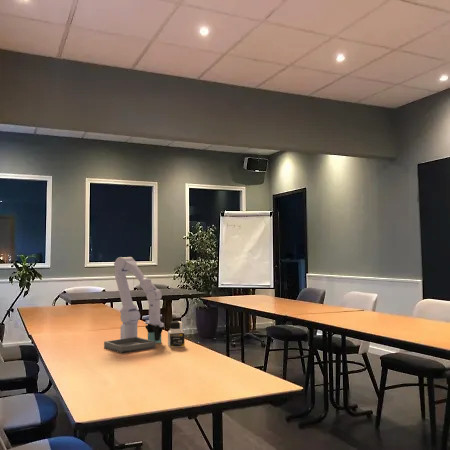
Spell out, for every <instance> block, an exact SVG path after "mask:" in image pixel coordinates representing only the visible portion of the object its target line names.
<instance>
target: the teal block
mask: <svg viewBox="0 0 450 450" xmlns="http://www.w3.org/2000/svg"><path fill="white" fill-rule="evenodd" d="M147 340H151V341H155V342H156V344H160V343H162V335H161V336H160V340H158V341H156V340H155V333H154V332H149V333H148V332H147Z"/></svg>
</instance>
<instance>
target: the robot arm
mask: <svg viewBox="0 0 450 450" xmlns="http://www.w3.org/2000/svg"><path fill="white" fill-rule="evenodd" d="M113 265H114V277H115V282H116V285H117V291H118V294H119V298H120V301H121V305H122V308H121V309H120V321H121V323H122V324H121V325H120V335H119V336H120V338H119V339H125V338H132V337H138V323H139V320H140V319H141V313H140V310H138V307H137V306H136V305H135V304H134V302H133V298H132V294H131V291H130V287H129V283H128V279H127V275H128V273H129V272H131V273H132V274H133V276H134V277H135V278H136V279H137V280H138V282H139V286H140V288H141V289H142V290H143V292H144V293H145V294H146V295H145V296H146V299H147V301H148V319H146V320H145V319H144V320H145V321H144V323H145V326H144V327H145V329H146V331H147V334H148V333H149V332H154V333H155V340H156V341H158V340H160V336H161V337H162V333H163V330H164V328H165V323H164V322H162V321H161V299H162V297H163V292H162V289H160V288H157V287H156V286H155V285H154V284H153V282H152V279H150V278H148V277H145V276H144V274H143V272H142V271H141V269H140V267H139V266H138V265H137V261H136V260H135V259H134V258H133V257H132V256H127V257H126V256H125V257H122V256H119V257H117V258H116V259H115V261H114V263H113Z"/></svg>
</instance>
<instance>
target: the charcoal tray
mask: <svg viewBox="0 0 450 450" xmlns="http://www.w3.org/2000/svg"><path fill="white" fill-rule="evenodd" d="M156 347H157V343H156V342H155V341H151V340H148V338H147V339H146V338H143V337H139V336H137V337H132V338H125V339H120V338H119V339H114V340H113V339H112V340H111V339H110V340H104V341H103V348H104V349H106V350H110V351H113V352H117V353H119V354H128V353H134V352H140V351H146V350H152V349H157V348H156Z"/></svg>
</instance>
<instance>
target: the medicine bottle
mask: <svg viewBox="0 0 450 450" xmlns="http://www.w3.org/2000/svg"><path fill="white" fill-rule="evenodd" d="M185 337H186V336H185V332H184V331H183V322H182V321H180V320H174V321H173V320H172V321H170V323H169V330H168V331H167V345H168V347H169V348H170V349H172V348H185V339H186V338H185Z"/></svg>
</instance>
